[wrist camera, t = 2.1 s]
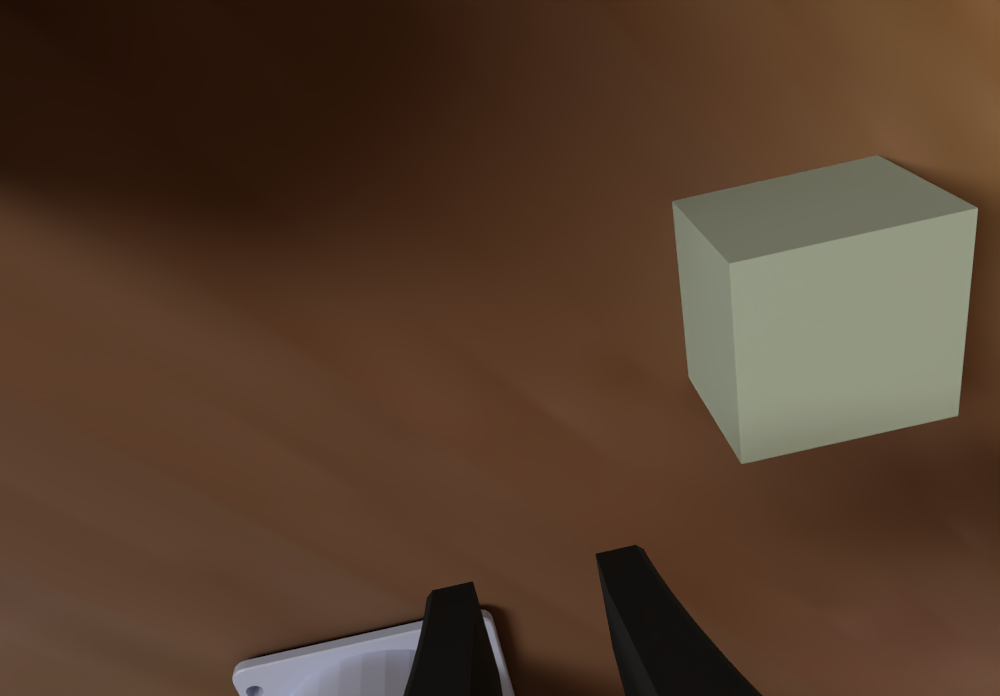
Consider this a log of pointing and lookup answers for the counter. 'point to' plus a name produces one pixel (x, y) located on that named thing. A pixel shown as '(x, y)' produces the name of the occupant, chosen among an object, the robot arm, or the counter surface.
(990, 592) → the counter surface
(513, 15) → the counter surface
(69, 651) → the counter surface
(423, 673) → the robot arm
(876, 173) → the block
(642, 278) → the counter surface
